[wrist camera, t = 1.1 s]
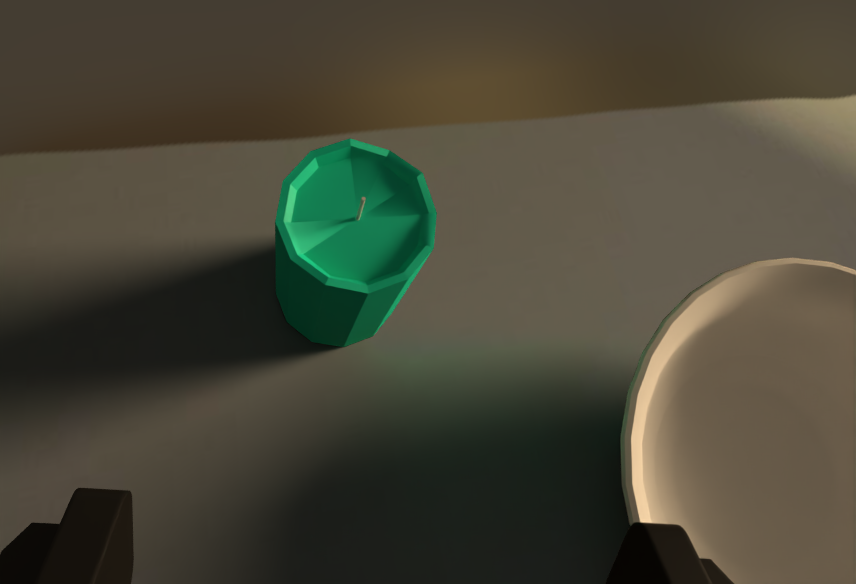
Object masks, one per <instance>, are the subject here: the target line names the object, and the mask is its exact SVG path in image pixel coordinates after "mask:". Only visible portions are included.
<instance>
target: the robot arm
mask: <svg viewBox="0 0 856 584" xmlns="http://www.w3.org/2000/svg"><path fill="white" fill-rule="evenodd" d="M133 560H134V556H133V515H132V494H131V492H130V491H126V490H109V489H92V488H77V489H76V490H75V492H74V493H73V495H72V497H71V500H70V502H69V504H68V506H67V509H66V511H65V513H64V516H63V518H62V520H61V523H60V524H49V523H31V524H30V525H29V526H28V527H27V528H26V529H25V530H24V531H23V532H22V533H20V534H19V535H18V536H17V537H16V538H15V539H14V540H13V541H12V542H11V543H10V544H9V545H8V546H7V547H6V548H5V549H3V550H2V552H1V554H0V584H131V580H132V573H133ZM606 584H734V583H733V582H732V581H731V580H730V579H729V578H728V577H727V576H726V575H725V574H724V573H723V571H722V570H721V569H720V568H719V567H718V566H717V565H716V564H715V563H714V562H713V561H712V560H711V559H703V558H699V556H698V554H697V552H696V550H695V548H694V546H693V544H692V542H691V540H690V538H689V536H688V534H687V533H686V531H685V530H684V528H683V527H681V526H680V525H678V524H661V523H644V522H635V523H633V524H632V525H631V526H630V527H629V529H628V531H627V533H626V536H625V538H624V541H623V543H622V545H621V548H620V550H619V552H618V555H617V557H616V559H615V562H614V564H613V566H612V569H611V571H610V573H609V576H608V578H607V581H606Z"/></svg>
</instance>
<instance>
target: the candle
mask: <svg viewBox="0 0 856 584" xmlns="http://www.w3.org/2000/svg"><path fill="white" fill-rule="evenodd" d="M436 215H437V212H436V209H435V207H434V204H433V201H432V198H431V195H430V192H429V189H428V187H427V184H426V181H425V178H424V175H423V173H422V172H420V171H419V170H418V169H416V168H415V167H413V166H412V165H410V164H409V163H407V162H406V161H404V160H403V159H401V158H400V157H399V156H397V155H396V154H394V153H393V152H391V151H390V150H387V149H383V148H380V147H377V146H373V145H370V144H367V143H363V142H360V141H357V140H353V139H347V140H344V141H341V142H338V143H335V144H331V145H328V146H325V147H322V148H319V149H316V150H313V151H310V152H309V153H308V155H307V156H306V157H305V158H304V159H303V160H302V161H301V162H300V163H299V164H298V165H297V166H296V167H295V168H294V170H293V171H292V172H291V173H290V174H289V175H288V176H287V177H286V178H285V179H284V180H283V184H282V189H281V194H280V200H279V205H278V210H277V215H276V221H275V248H276V295H277V298H278V300H279V303H280V305H281V308H282V311H283V313H284V316H285V319H286V321H287V323H289V324H290V325H291V326H292V327H294V328H295V329H296V330H297V331H299V332H300V333H301V334H302V335H304V336H305V337H306V338H307V339H309V340H310V341H311V342H315V343H321V344H327V345H333V346H340V347H345V346H348V345H351V344H353V343H356V342H359V341H361V340H364V339H367V338H369V337H372V336H373V335H374V334H375V333H376V332H377V331H378V329H379V328H380V327H381V326H382V324H383V323H384V322H385V321H386V319H387V318H388V317H389V316H390V315H391V313H392V312H393V310H394V309H395V307H396V306H397V304H398V303H399V301H400V300H401V298H402V296H403V295H404V293H405V292H406V290H407V289H408V287H409V286H410V284H411V283H412V281H413V280H414V278H415V276H416V275H417V273H418V272H419V270H420V269H421V267H422V266H423V264H424V263H425V261H426V259H427V258H428V256H429V255H430V253H431V252H432V250H433V249H434V238H435V226H436Z"/></svg>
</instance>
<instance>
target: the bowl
mask: <svg viewBox="0 0 856 584" xmlns="http://www.w3.org/2000/svg"><path fill="white" fill-rule="evenodd" d="M620 441H621V480H622V489H623V494H624V499H625V504H626V509H627V513H628V518H629V523H630V526H631V525H632V524H633V523H635V522H644V523H661V524H678V525H680V526H681V527H683V528H684V530H685V531H686V533H687V534H688V536H689V538H690V540H691V542H692V544H693V546H694V548H695V550H696V552H697V554H698V556H699V558H703V559H711V560H712V561H713V562H714V563H715V564H716V565H717V566H718V567H719V568H720V569H721V570H722V571H723V573H724V574H725V575H726V576H727V577H728V578H729V579H730V580H731V581H732V582H733V583H734V584H856V270H854V269H851V268H848V267H844V266H841V265H838V264H835V263H832V262H825V261H816V260H807V259H798V258H785V259H775V260H765V261H756V262H752V263H749V264H746V265H743V266H741V267H738V268H735V269H732V270H729V271H726V272H723V273H720V274H719V275H717V276H716V277H714V278H712V279H711V280H709V281H708V282H706V283H704V284H703V285H701V286H700V287H698V288H696V289H695V290H693V291H692V292H690V293H689V294H688V295H687V296H686V297H685V298H684V299H683V300H682V301H681V302H680V303H679V304H678V305H677V306H676V307H675V308H674V309H673V310H672V311H671V312H670V313H669V314H668V315H667V316H666V317H665V318H664V319H663V321H662V322H661V324H660V326H659V327H658V329H657V330H656V332H655V333H654V335H653V337H652V338H651V340H650V341H649V343H648V345H647V346H646V348H645V349H644V351H643V353H642V355H641V358H640V360H639V363H638V366H637V368H636V371H635V374H634V377H633V379H632V382H631V385H630V387H629V390H628V393H627V399H626V405H625V412H624V418H623V424H622V430H621V437H620Z"/></svg>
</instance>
